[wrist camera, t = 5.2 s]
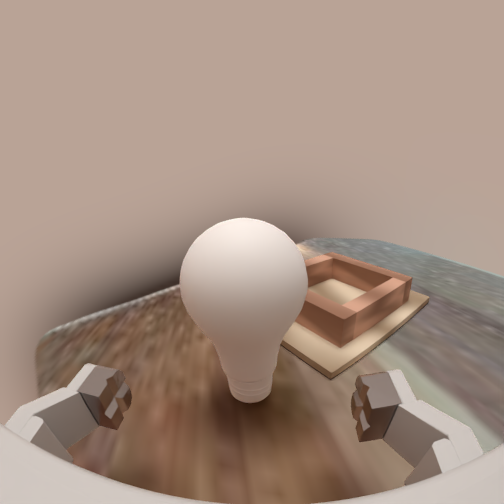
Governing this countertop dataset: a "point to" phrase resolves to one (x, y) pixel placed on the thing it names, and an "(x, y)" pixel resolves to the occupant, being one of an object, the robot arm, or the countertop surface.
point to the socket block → (348, 311)
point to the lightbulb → (244, 298)
